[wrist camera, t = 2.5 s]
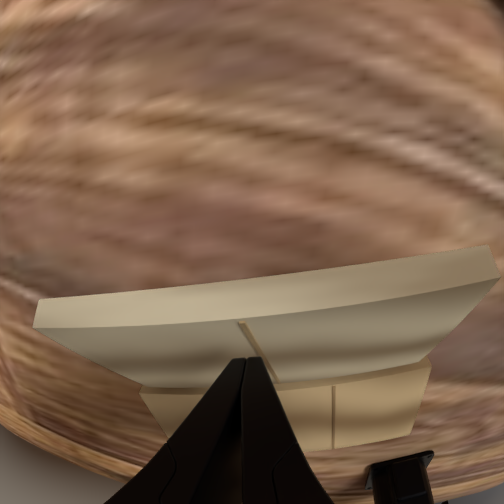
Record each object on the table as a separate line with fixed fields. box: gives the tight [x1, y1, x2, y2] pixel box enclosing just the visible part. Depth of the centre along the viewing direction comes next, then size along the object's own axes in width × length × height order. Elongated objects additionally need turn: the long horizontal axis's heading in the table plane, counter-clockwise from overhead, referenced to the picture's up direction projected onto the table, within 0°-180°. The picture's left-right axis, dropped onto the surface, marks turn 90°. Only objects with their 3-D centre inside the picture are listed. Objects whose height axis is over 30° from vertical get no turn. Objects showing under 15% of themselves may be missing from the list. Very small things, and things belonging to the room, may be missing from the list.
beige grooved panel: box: [33, 245, 501, 388], centre depth 13 cm, size 10×16×1 cm, turn 100°
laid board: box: [139, 355, 432, 452], centre depth 19 cm, size 8×18×1 cm, turn 100°
